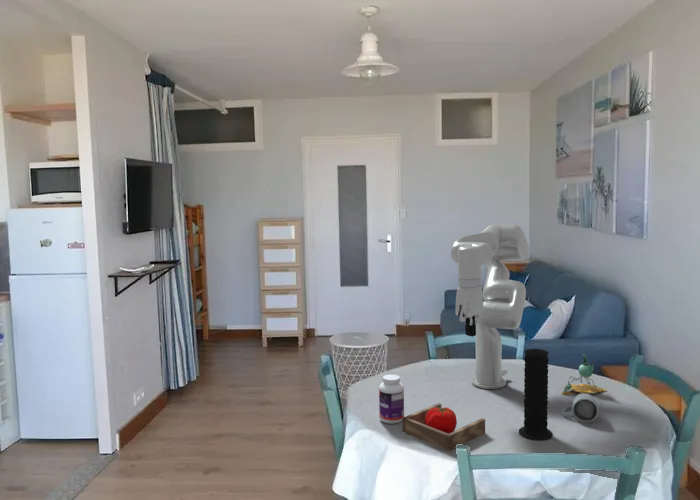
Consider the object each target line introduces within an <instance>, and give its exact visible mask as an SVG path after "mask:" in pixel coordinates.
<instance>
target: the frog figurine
mask: <svg viewBox="0 0 700 500" xmlns="http://www.w3.org/2000/svg"><path fill="white" fill-rule="evenodd" d="M582 357H583V361H581V362H582V363H581V364H580V365H579V367H578V374H579V377H578V378H576V377H574V376H570V377H569V379H568V381H567V382H568V383H567V384H566V385H564V386H563V391H562V392H561V393H560V395H563V396H564V395H565V396H568V395H574V394H576V393H575V392H578V394H582V393H586V394H589V395H590V394H596V393H602V392H607V391H608V390H607V389H605V388H603V387H600V386H598V385H595V383H594V380H593V379H591V378H590V377H592V375H593V374H594V373H595V370H594V368H595V365H594V364H593V363H592V364H591V365H590V363H588V360H587V354H585V353H583V355H582ZM571 378H572V380H571V383H570V379H571ZM583 378H584V379H585V381H586V382H587V384H586V383H583V382H584V381H583ZM578 380H579V382H580V384H575V383H573V382H574V381H578ZM590 381H592V384H591V382H590ZM572 383H573V384H572ZM570 390H572V391H574V392H571V391H570Z"/></svg>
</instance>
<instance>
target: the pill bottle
mask: <svg viewBox="0 0 700 500" xmlns="http://www.w3.org/2000/svg"><path fill="white" fill-rule="evenodd" d="M404 388H405V387H404V385H403V383H401V377H400V376H399V375H398V374H385V375H383V376H382V382H381V383H380V385H379V386H378V398H379V399H378V407H379V408H378V409H379V413H378V414H379V420H380V421H381V422H383V423H385V424H391V425H394V424H398V423H402V418H403V417H405V389H404Z"/></svg>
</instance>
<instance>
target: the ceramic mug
mask: <svg viewBox="0 0 700 500" xmlns="http://www.w3.org/2000/svg"><path fill="white" fill-rule="evenodd" d="M561 413H562V416H563V417H564V418H570V417H574V418H575V419H576V420H577V421H578V422H582V423H592V422H593V421H595V420H596V419H597V417H598V416H599V407H598V404H597V400H596V399H595V398H594V396H592V395H591V394H590V393H589V394H588V393H578V394H577V395H576V396H575V397H574V399H573V400H572V405H570V406H566V407H565V408H564V409H562V411H561Z"/></svg>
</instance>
